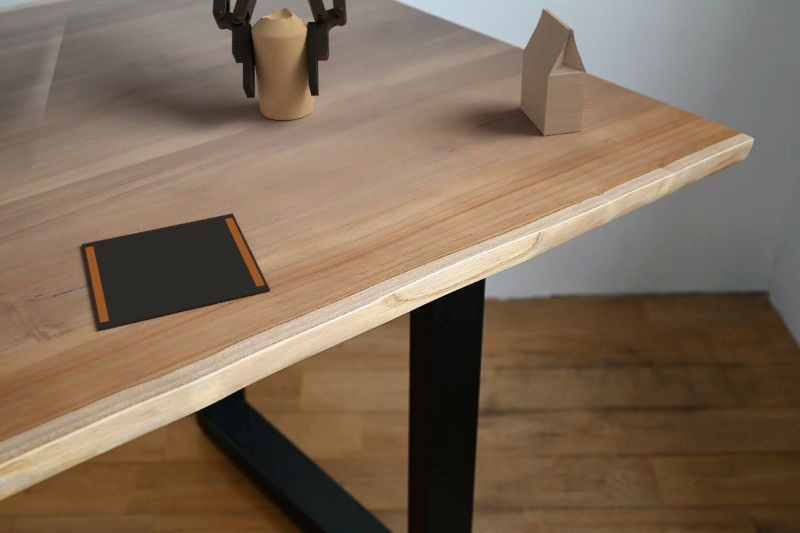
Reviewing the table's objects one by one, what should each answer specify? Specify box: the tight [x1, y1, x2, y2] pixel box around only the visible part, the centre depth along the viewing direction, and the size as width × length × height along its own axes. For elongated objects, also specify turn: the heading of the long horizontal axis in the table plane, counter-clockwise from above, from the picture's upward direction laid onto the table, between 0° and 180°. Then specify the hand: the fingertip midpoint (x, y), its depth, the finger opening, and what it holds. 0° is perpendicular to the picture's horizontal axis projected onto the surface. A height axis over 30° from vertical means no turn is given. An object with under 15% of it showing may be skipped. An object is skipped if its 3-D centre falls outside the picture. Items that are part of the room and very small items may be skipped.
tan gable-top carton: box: [519, 8, 587, 136], centre depth 87 cm, size 4×7×10 cm, turn 13°
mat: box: [81, 213, 271, 332], centre depth 68 cm, size 12×12×1 cm
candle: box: [251, 7, 315, 121], centre depth 90 cm, size 6×6×10 cm
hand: (281, 91), depth 88 cm, fingers closed on candle, 5 cm apart
